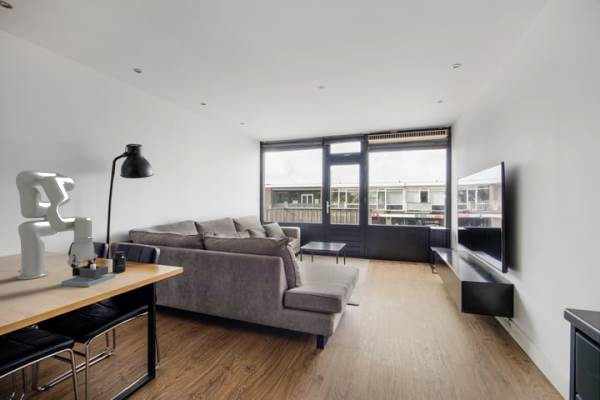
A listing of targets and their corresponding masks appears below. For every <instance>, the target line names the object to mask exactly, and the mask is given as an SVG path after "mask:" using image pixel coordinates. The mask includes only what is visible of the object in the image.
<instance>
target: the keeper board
mask: <svg viewBox="0 0 600 400" xmlns="http://www.w3.org/2000/svg"><path fill="white" fill-rule="evenodd" d="M96 266H97V264H96V263H94V264H91V265H90V269H96ZM116 276H117V275H116V273H109V272H108V274H106V275H103V276H100V277H97V278H90V277H74V276H73V277H71V278H68V279H65V280H62V281H61V286H68V287H84V288H90V287H92V286H96V285H99V284H100V283H104V282H106V281H110V280H112V279H114V278H116Z"/></svg>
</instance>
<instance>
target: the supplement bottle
mask: <svg viewBox="0 0 600 400" xmlns="http://www.w3.org/2000/svg"><path fill="white" fill-rule="evenodd" d="M111 264H112V266H111V271H112V274H120V273H124V272H126V269H127V267H126V266H127V257H126V256H125V251H115V252H114V256H113V257H112V262H111Z"/></svg>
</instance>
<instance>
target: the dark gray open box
mask: <svg viewBox="0 0 600 400" xmlns="http://www.w3.org/2000/svg"><path fill="white" fill-rule="evenodd" d="M78 268H79V275H78V276H77V275H73V268H71V270H72V271H71V272H72V273H71V274H72V275H71V276H72V277H73V278H74V277H90V278H97V277H100V276H103V275H106V274H108V273H109V266H105V265H96V269H90V265H87V264H85V265H82V266H78Z"/></svg>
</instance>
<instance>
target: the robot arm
mask: <svg viewBox="0 0 600 400" xmlns="http://www.w3.org/2000/svg"><path fill="white" fill-rule="evenodd" d="M15 185H16V189H17V190H18V194H19V207H20V215H21V216H22V217H23V218H25V219H37V220H28V221H23V222H22V223H21V224H19V225H18V227H17V232H18V235H19V239H20V261H21V262H20V266H21V267H20V269H18V270H17V273H20V274H19V275H18V276H17V277H16V278H17V279H18V280H32V279H38V278H43V277H47V276H48V275H50V274H49V273H50V272H49V271H47V270H46V247H45V246H46V244H45V242H44V241H43V240H42V238H43V237H48V236H49V237H50V236H54V235H57V234H58V233H63V232H64V233H65V232H69V231H70V232H72V231H73V243H72V245H71V247H70V248H71V249H70V254H69V255H70V256H69V259H68V260H67V261H66V264H67V265H68V266H69V267H71V269H73V275H77V276H78V275H79V268H78V267H80V266H79V265H80V264H81V263H85V262H87V264H86V265H91V264H95V261H96V260H97V258H98V256H99V255H98V254H97V253H95V246H94V242H93V240H94V237H93V219H92V218H91V217H84V216H83V217H82V216H67V217H66V216H65V217H61V216H60V213H59V208H60V207H63V206H65V205H68V203H70V201H71V197H70V195H69V193H68V192H71V191H73V190H74V189H75V182H74V180H73V178H71V177H69V176H67V175H64V174H60V173H59V172H54V171H44V170H32V169H31V170H29V169H28V170H27V169H26V170H21V171H20V172H18V174H17V175H16V177H15ZM37 187H41V188H42V189H43V191H44V193H45V195H46V197H47V199H48V201H42V193H41V192H40V191H39V189H38V188H37ZM40 218H41V219H40ZM42 218H43V219H42ZM41 237H42V238H41Z"/></svg>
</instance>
